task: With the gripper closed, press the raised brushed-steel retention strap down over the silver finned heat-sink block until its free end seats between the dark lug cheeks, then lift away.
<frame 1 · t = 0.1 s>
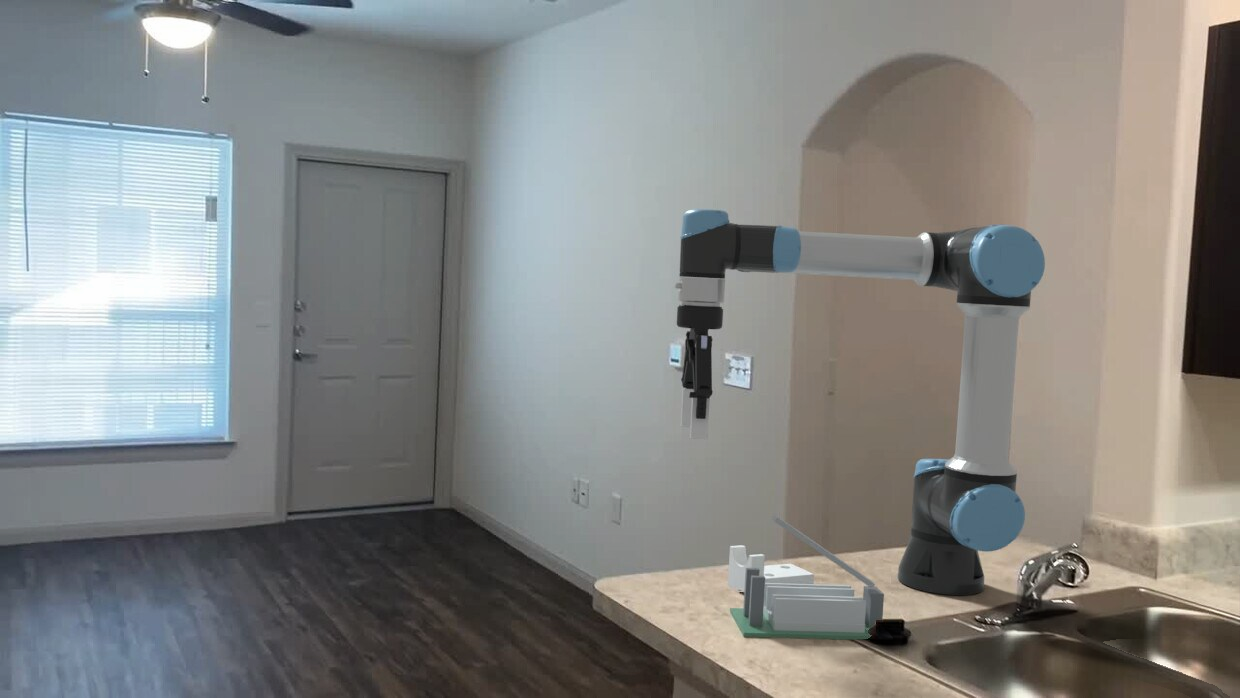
hand: (693, 432, 177), 28 cm above the counter, fingers open, 13 cm apart
heatsink board: (871, 627, 169), on the counter
bracket: (770, 592, 187), on the counter
strap: (823, 551, 167), point 12 cm above the counter, hinge at 32.0°
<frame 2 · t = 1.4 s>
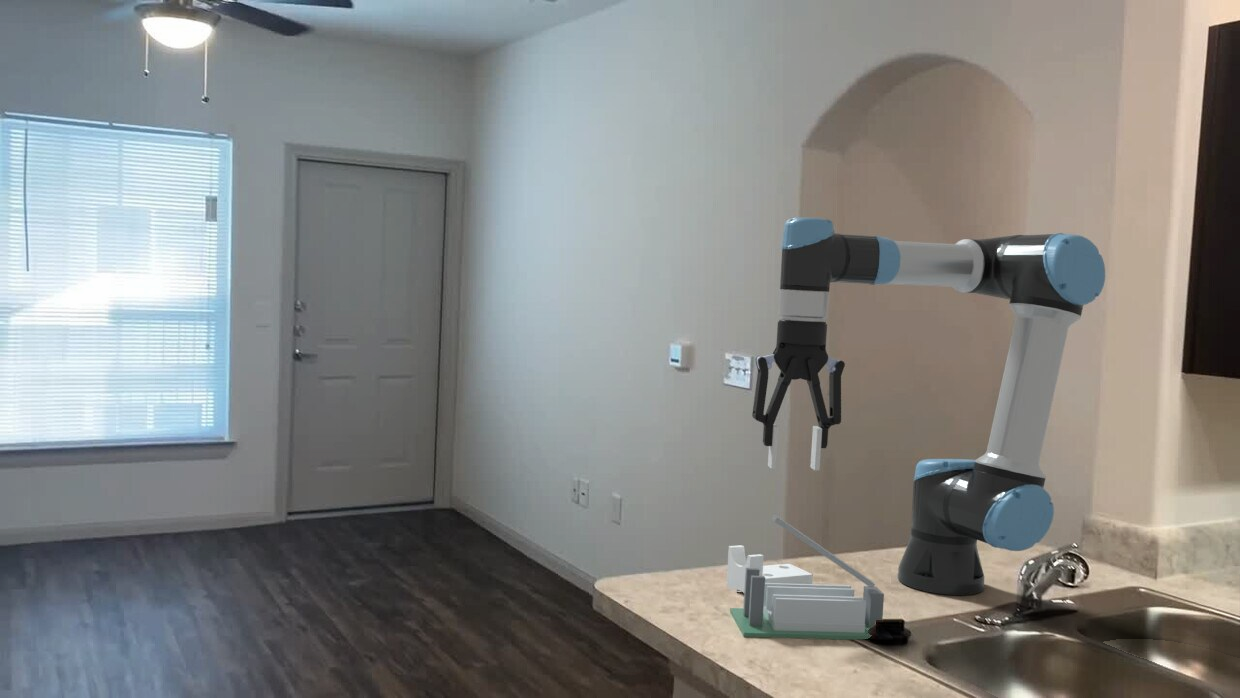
hand: (793, 467, 166), 25 cm above the counter, fingers open, 6 cm apart
nothing on the counter moved.
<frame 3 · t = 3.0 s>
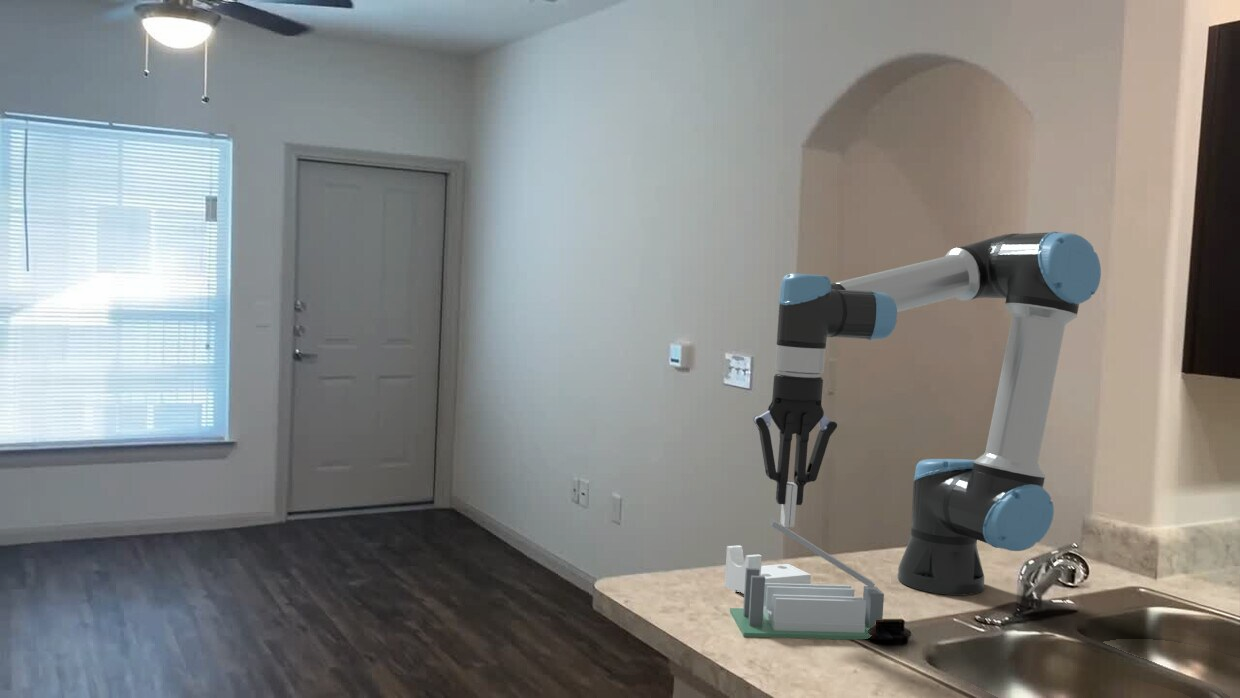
hand: (787, 524, 166), 16 cm above the counter, fingers closed
strap: (821, 553, 167), point 12 cm above the counter, hinge at 29.7°, touching gripper
everything else where it was.
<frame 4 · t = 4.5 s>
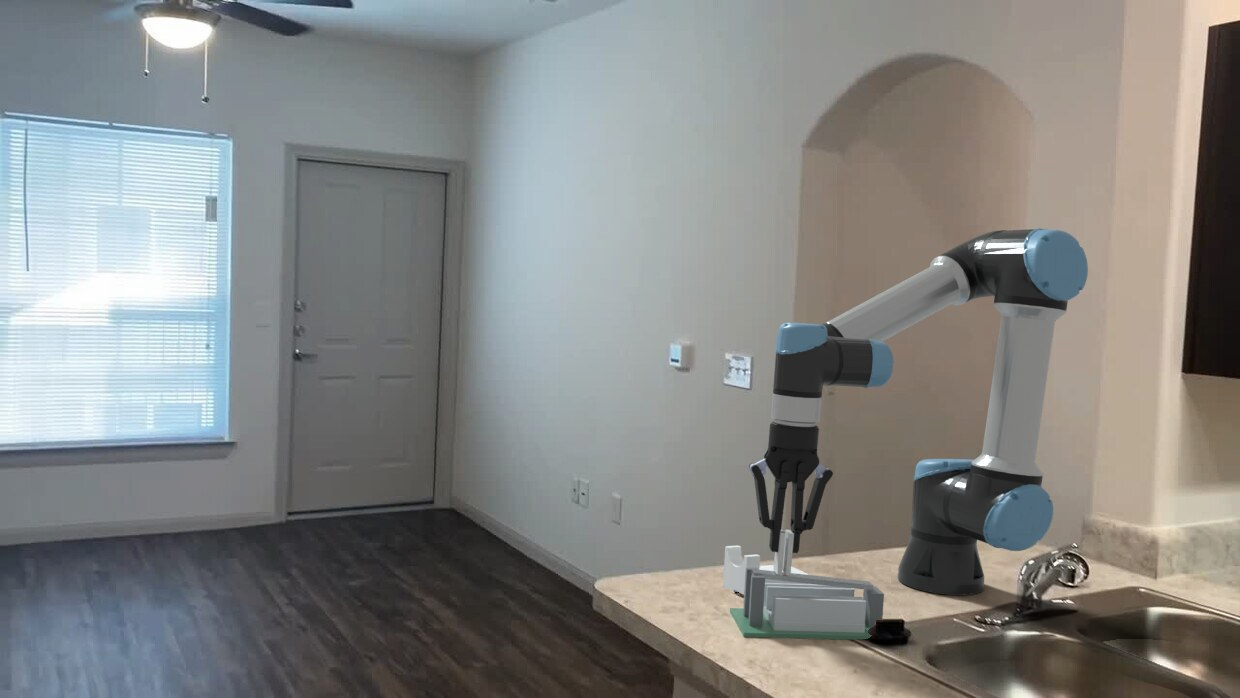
hand: (782, 572, 167), 8 cm above the counter, fingers closed, pressing on strap
strap: (812, 579, 167), point 7 cm above the counter, hinge at 4.3°, touching gripper
everything else where it was.
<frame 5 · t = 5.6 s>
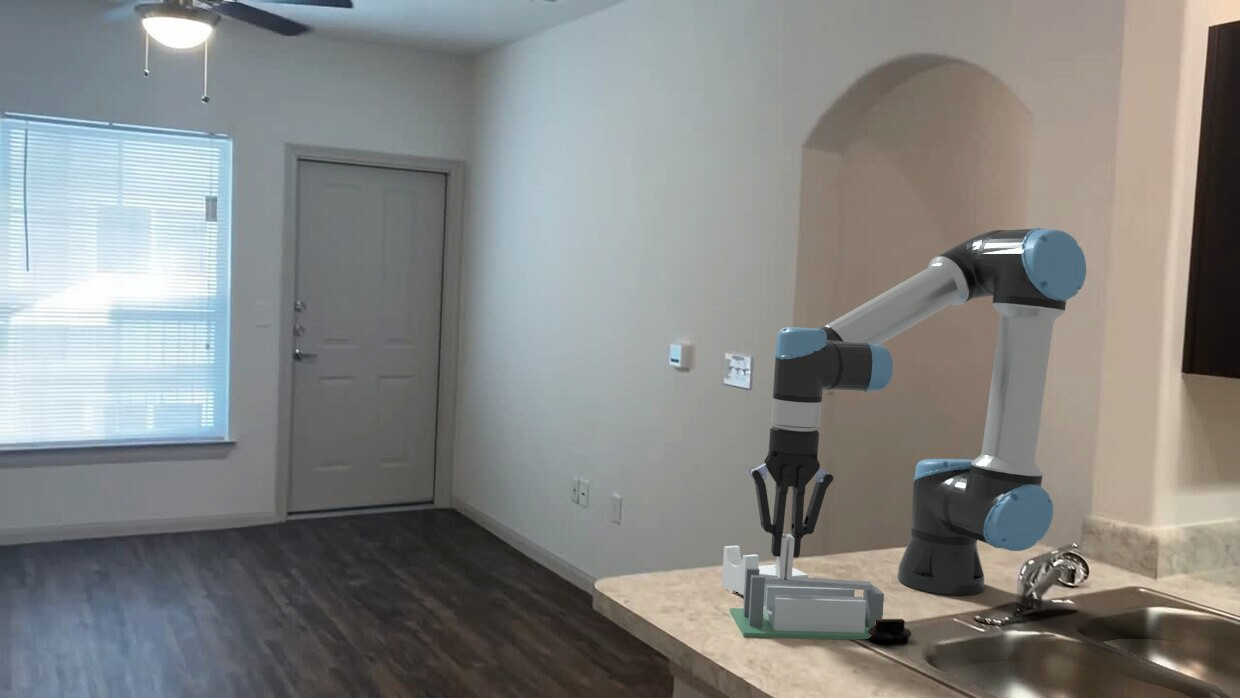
hand: (783, 576, 167), 8 cm above the counter, fingers closed, pressing on strap
strap: (811, 582, 167), point 7 cm above the counter, hinge at 1.9°, touching gripper
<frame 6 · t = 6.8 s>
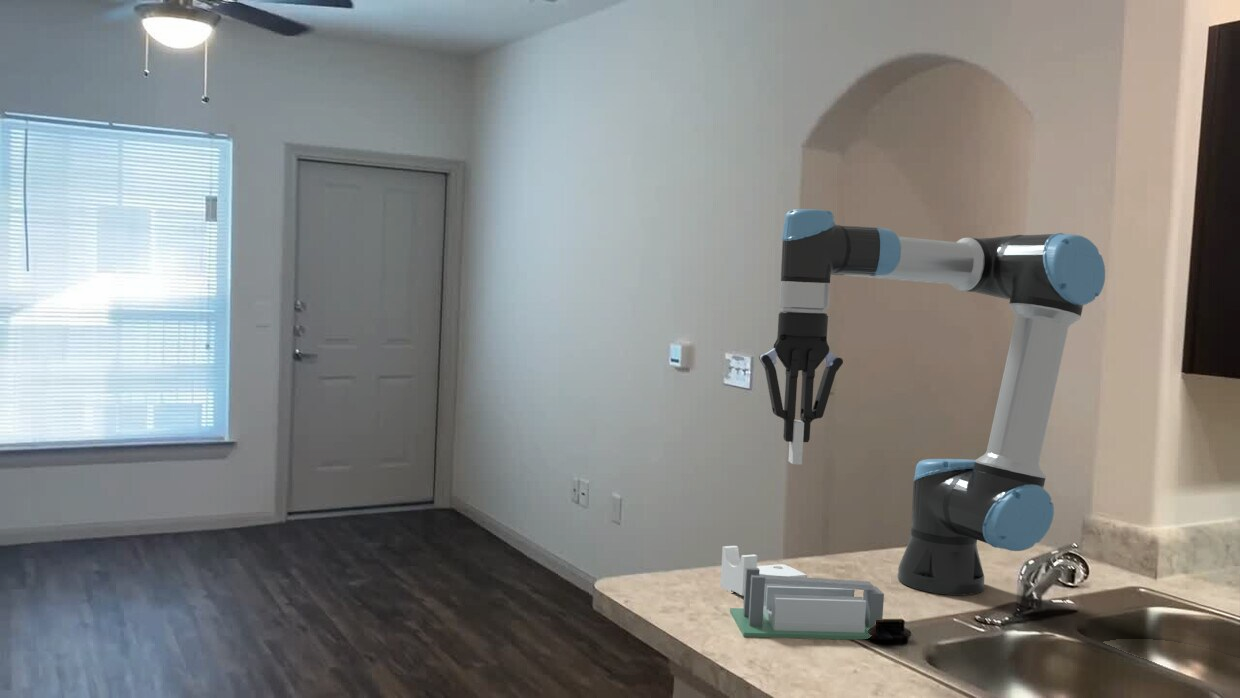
hand: (795, 462, 166), 26 cm above the counter, fingers closed
strap: (811, 582, 167), point 7 cm above the counter, hinge at 1.9°
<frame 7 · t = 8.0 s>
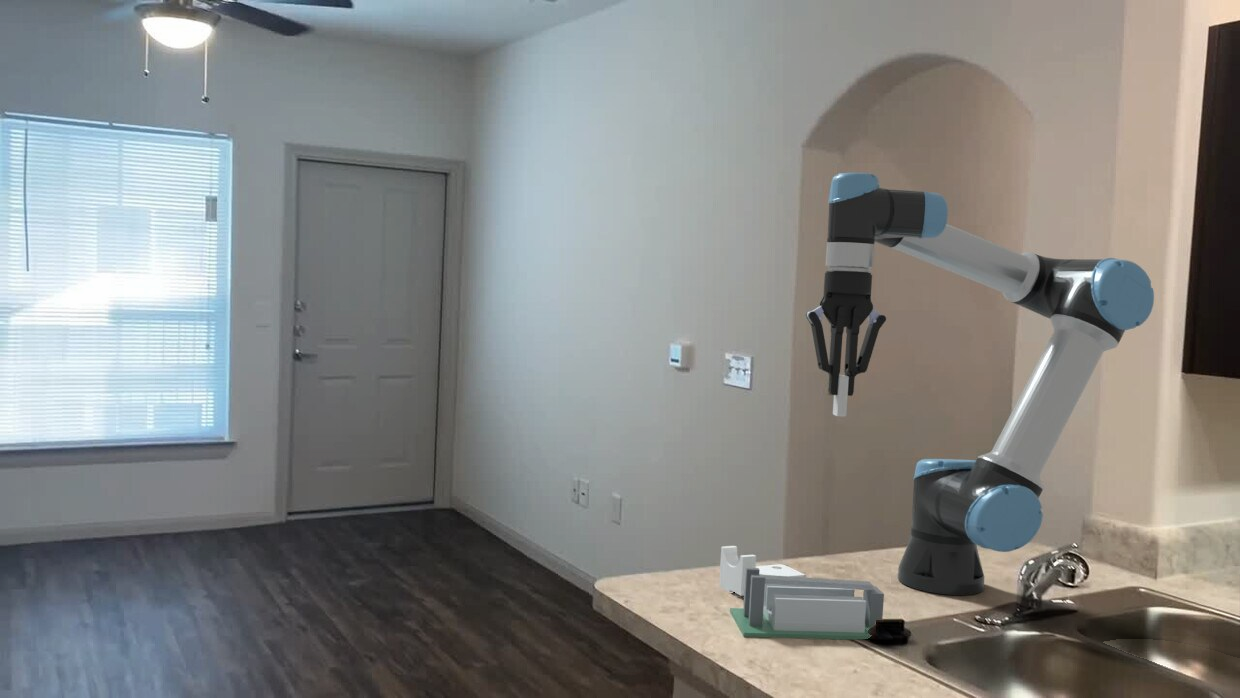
hand: (839, 415, 174), 32 cm above the counter, fingers closed
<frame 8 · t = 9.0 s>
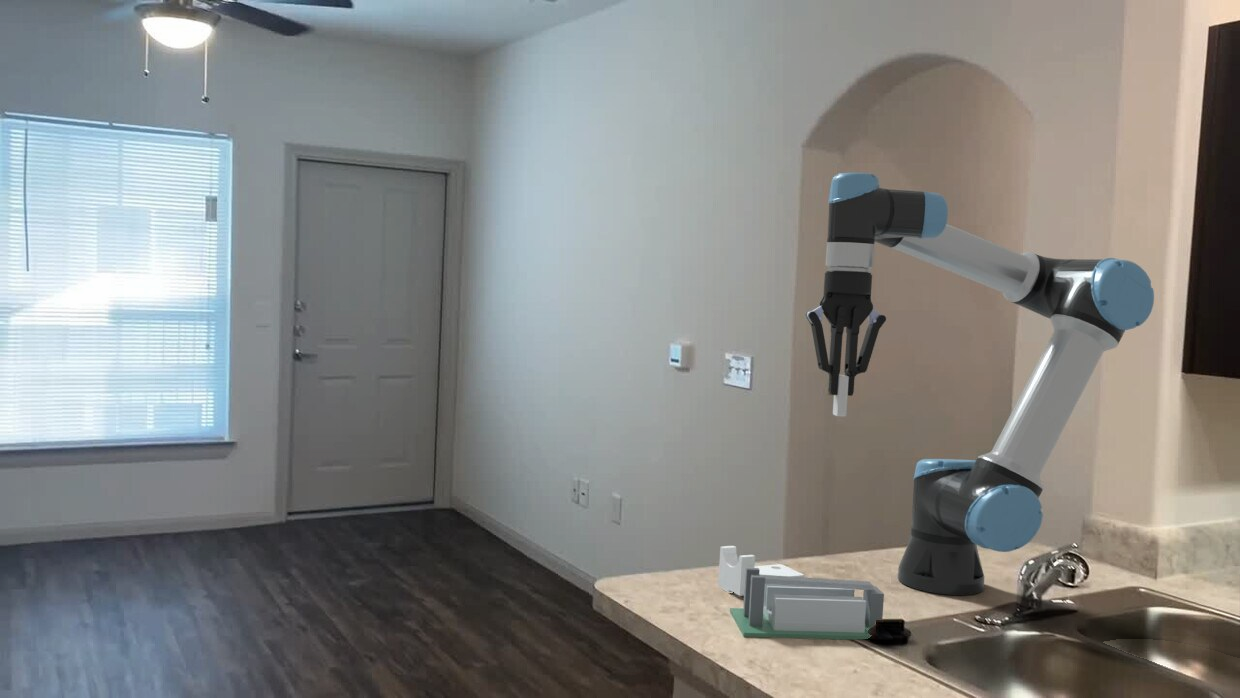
hand: (839, 415, 174), 32 cm above the counter, fingers closed
at the end: strap at +2° (first picture: +32°); bracket moved 2.1 cm from its start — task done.
